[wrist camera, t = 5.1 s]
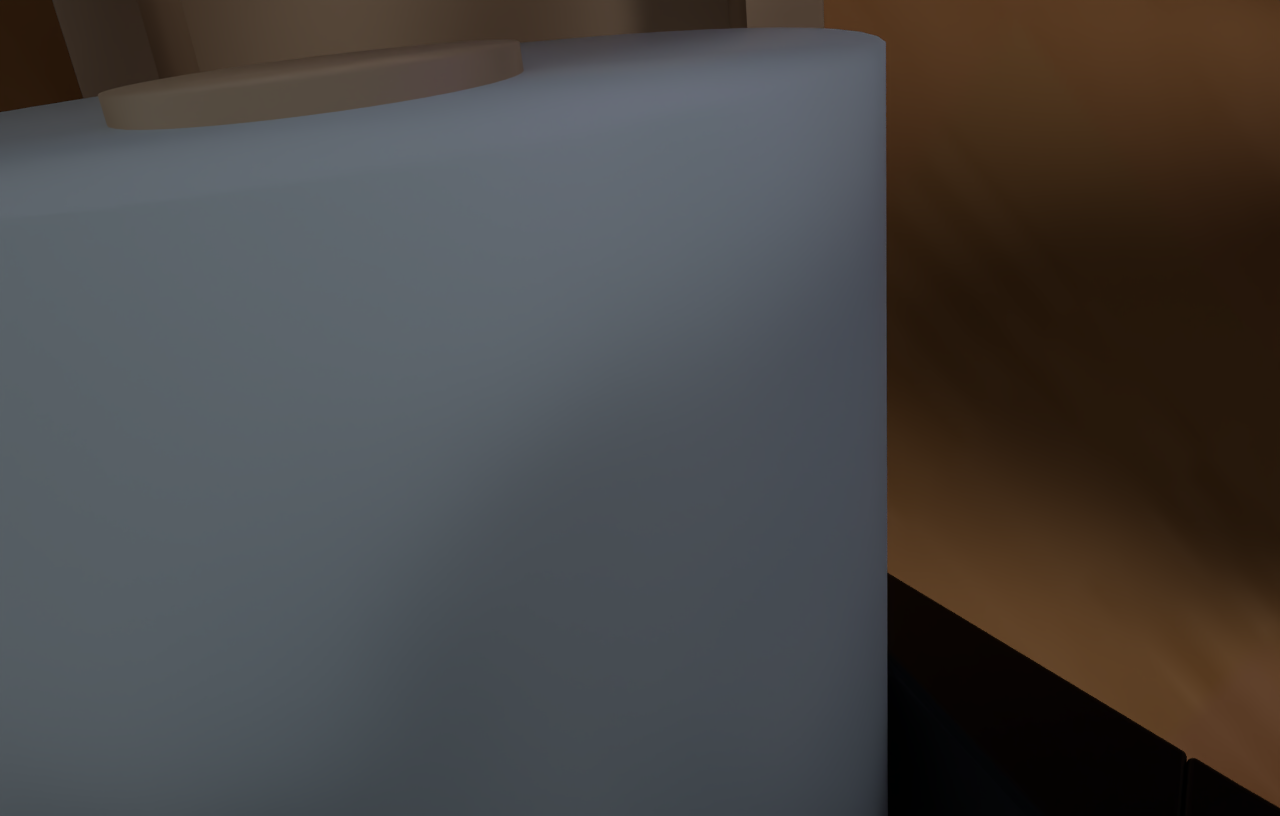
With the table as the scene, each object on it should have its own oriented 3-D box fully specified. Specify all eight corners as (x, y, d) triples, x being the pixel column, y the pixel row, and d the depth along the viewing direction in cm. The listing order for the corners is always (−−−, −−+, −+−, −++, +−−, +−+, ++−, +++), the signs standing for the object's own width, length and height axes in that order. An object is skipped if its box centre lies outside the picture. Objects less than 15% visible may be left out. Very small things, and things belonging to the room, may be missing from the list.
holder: (776, -197, 14) (878, -280, 9) (810, 641, 20) (884, 839, 15) (98, -123, 14) (-131, -172, 9) (335, 702, 20) (265, 923, 15)
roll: (26, 78, 8) (-1095, 287, 3) (758, -6, 8) (1168, 27, 3) (319, 954, 12) (130, 1755, 7) (802, 885, 12) (1002, 1606, 7)
